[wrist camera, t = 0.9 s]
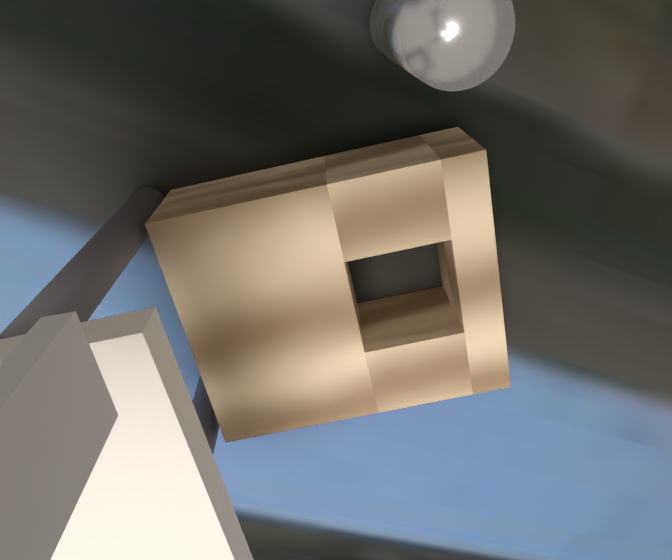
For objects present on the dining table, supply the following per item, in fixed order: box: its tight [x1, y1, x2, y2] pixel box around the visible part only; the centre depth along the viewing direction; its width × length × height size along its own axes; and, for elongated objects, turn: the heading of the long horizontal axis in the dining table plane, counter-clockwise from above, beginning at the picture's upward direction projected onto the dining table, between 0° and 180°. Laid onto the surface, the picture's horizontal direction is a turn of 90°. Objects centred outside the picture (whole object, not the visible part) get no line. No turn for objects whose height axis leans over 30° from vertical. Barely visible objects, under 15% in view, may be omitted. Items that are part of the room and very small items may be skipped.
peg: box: [369, 0, 515, 91], centre depth 26 cm, size 4×4×12 cm
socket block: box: [145, 127, 511, 442], centre depth 34 cm, size 14×17×6 cm
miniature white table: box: [0, 187, 253, 560], centre depth 28 cm, size 16×6×20 cm, turn 12°
